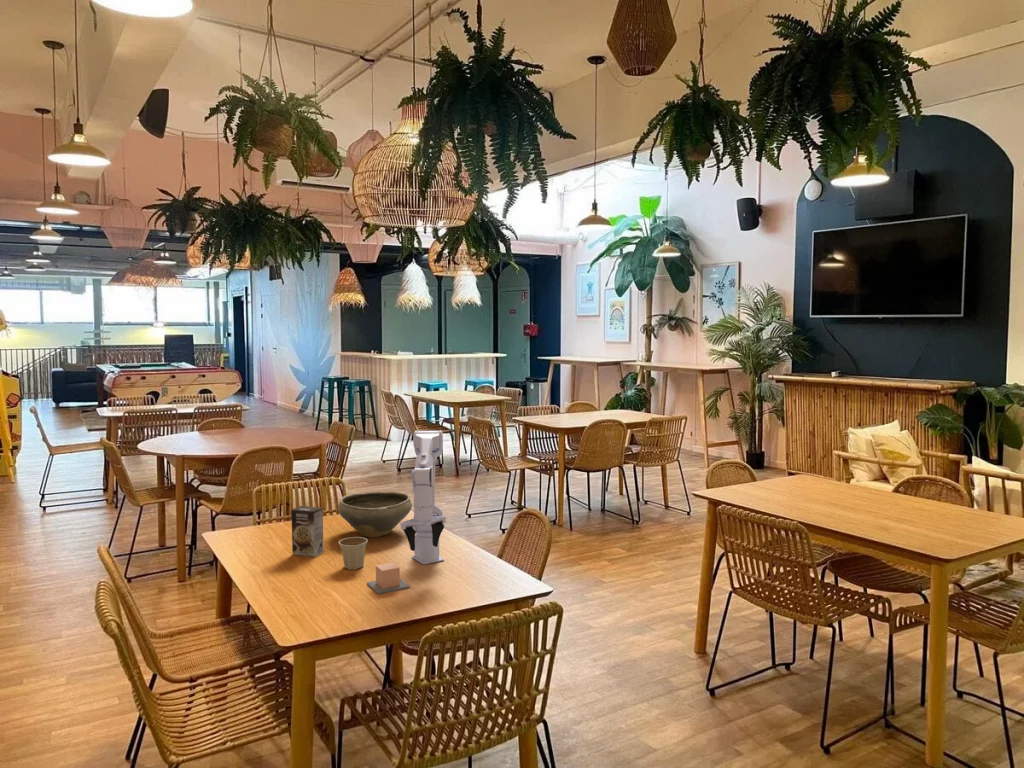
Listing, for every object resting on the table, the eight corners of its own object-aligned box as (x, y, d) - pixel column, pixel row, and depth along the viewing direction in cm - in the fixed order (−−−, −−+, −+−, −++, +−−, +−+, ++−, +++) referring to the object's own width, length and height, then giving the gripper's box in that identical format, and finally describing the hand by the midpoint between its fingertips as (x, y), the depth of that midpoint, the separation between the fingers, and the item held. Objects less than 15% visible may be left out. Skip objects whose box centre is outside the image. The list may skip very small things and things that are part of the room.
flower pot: (345, 573, 236) (344, 547, 235) (335, 565, 243) (334, 540, 243) (372, 567, 241) (372, 542, 240) (361, 560, 249) (361, 535, 248)
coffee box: (291, 555, 254) (290, 509, 253) (302, 549, 261) (300, 505, 259) (314, 557, 252) (313, 511, 250) (324, 551, 258) (323, 506, 257)
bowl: (325, 533, 281) (324, 497, 281) (386, 520, 300) (385, 486, 299) (363, 548, 261) (362, 509, 260) (426, 533, 279) (425, 496, 278)
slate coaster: (366, 584, 226) (366, 582, 226) (397, 578, 231) (397, 576, 231) (378, 594, 217) (378, 592, 217) (409, 587, 222) (409, 585, 222)
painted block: (376, 583, 225) (375, 565, 224) (392, 579, 228) (392, 562, 227) (382, 588, 220) (382, 570, 220) (399, 585, 223) (399, 567, 223)
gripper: (406, 511, 221) (407, 555, 222) (449, 505, 228) (450, 547, 230) (397, 506, 227) (398, 549, 228) (440, 500, 234) (440, 541, 236)
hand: (423, 548), depth 229 cm, fingers open, 7 cm apart
